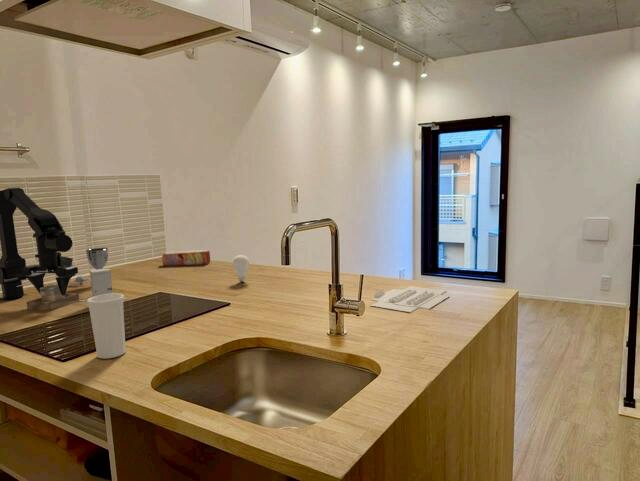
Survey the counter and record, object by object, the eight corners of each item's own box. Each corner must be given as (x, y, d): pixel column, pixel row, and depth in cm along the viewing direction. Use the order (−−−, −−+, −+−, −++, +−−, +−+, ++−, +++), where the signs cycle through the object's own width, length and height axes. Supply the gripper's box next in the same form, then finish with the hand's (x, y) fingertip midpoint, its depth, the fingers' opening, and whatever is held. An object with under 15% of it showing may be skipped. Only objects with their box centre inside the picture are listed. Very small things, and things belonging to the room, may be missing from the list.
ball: (73, 285, 183) (72, 276, 183) (80, 283, 186) (79, 275, 186) (81, 285, 182) (80, 277, 182) (87, 283, 185) (86, 275, 185)
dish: (67, 287, 182) (66, 282, 182) (80, 283, 189) (79, 278, 188) (81, 288, 180) (80, 282, 180) (94, 283, 187) (93, 278, 186)
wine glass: (85, 287, 180) (81, 250, 178) (100, 282, 188) (97, 247, 186) (101, 288, 178) (97, 251, 176) (116, 283, 185) (112, 247, 183)
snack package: (162, 267, 219) (160, 252, 218) (167, 264, 226) (165, 250, 225) (208, 265, 218) (206, 250, 217) (211, 262, 225) (210, 248, 224)
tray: (456, 294, 152) (456, 284, 151) (421, 320, 130) (420, 308, 130) (401, 287, 164) (401, 277, 164) (361, 310, 142) (360, 298, 142)
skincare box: (94, 307, 151) (90, 272, 149) (92, 304, 154) (89, 270, 153) (114, 304, 154) (110, 269, 152) (112, 301, 158) (108, 267, 156)
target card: (69, 300, 161) (69, 299, 161) (88, 294, 170) (87, 293, 170) (82, 301, 160) (82, 300, 159) (101, 294, 168) (101, 293, 168)
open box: (27, 309, 152) (26, 302, 151) (56, 299, 163) (55, 292, 163) (51, 310, 149) (50, 303, 149) (79, 300, 161) (78, 293, 160)
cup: (96, 364, 103) (89, 304, 101) (90, 354, 110) (83, 297, 108) (133, 355, 108) (127, 297, 106) (125, 345, 114) (119, 291, 112)
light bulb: (247, 284, 176) (245, 256, 174) (231, 284, 177) (229, 256, 175) (252, 280, 182) (251, 253, 180) (237, 280, 183) (235, 253, 182)
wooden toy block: (41, 305, 154) (39, 288, 153) (54, 300, 159) (52, 284, 158) (53, 305, 153) (51, 288, 152) (65, 301, 158) (63, 284, 157)
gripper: (87, 246, 159) (92, 289, 161) (45, 246, 164) (50, 288, 166) (62, 252, 148) (67, 298, 150) (17, 251, 153) (23, 296, 155)
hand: (52, 294), depth 156 cm, fingers open, 9 cm apart
